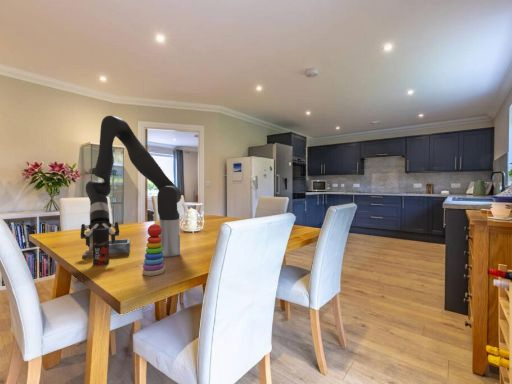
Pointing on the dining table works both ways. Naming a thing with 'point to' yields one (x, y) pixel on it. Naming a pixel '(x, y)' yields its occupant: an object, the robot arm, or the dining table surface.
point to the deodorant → (100, 246)
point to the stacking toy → (153, 252)
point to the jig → (110, 248)
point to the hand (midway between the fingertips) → (101, 244)
